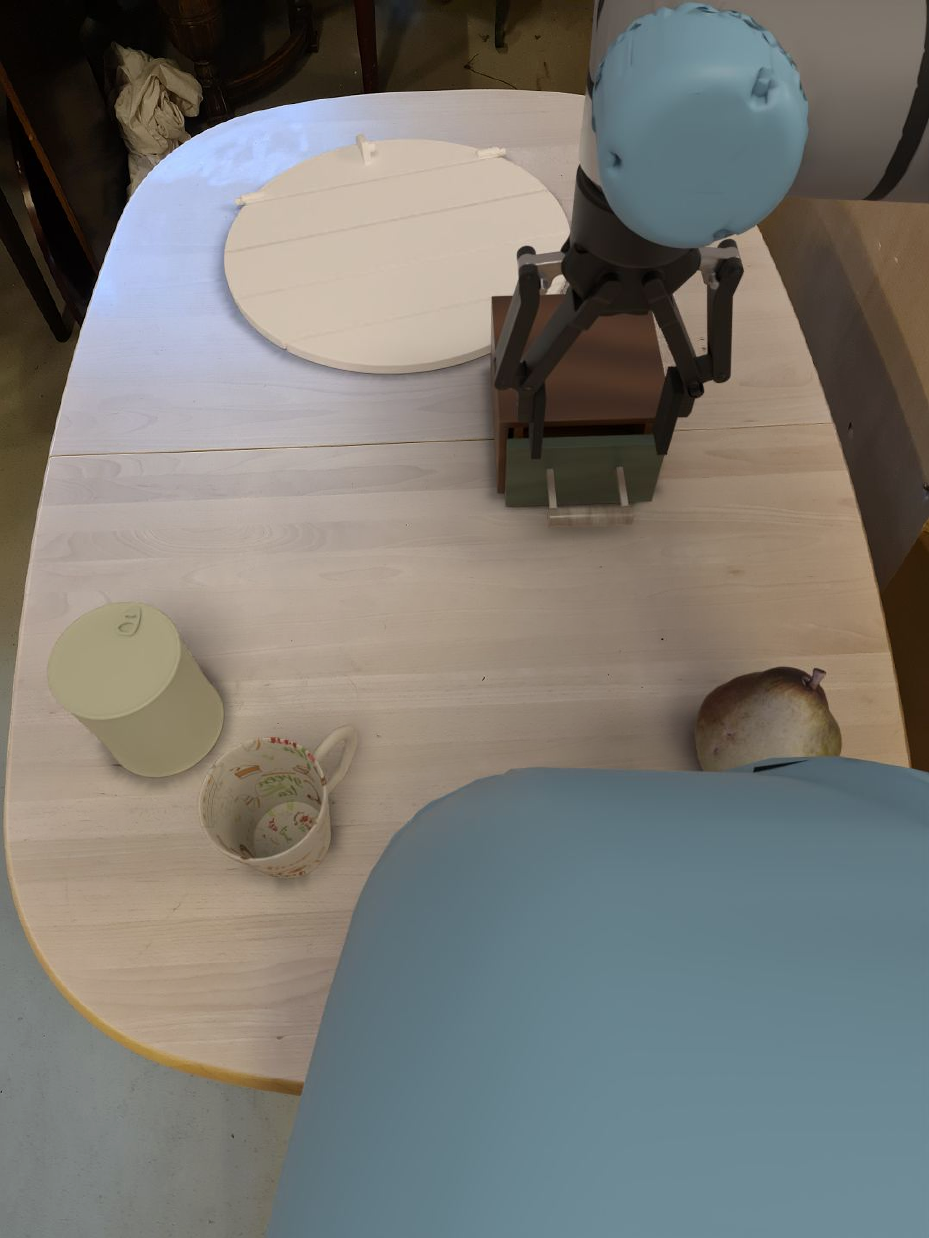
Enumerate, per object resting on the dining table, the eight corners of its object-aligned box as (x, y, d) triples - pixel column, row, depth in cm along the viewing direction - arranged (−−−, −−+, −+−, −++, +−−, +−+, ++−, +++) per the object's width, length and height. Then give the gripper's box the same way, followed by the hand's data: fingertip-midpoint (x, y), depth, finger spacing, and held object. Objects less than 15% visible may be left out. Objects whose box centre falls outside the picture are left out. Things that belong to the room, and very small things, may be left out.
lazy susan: (204, 177, 105) (196, 150, 102) (508, 121, 110) (509, 93, 107) (256, 409, 86) (248, 384, 83) (622, 329, 91) (627, 302, 88)
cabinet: (653, 488, 80) (673, 416, 72) (497, 493, 80) (499, 422, 72) (632, 368, 88) (648, 291, 79) (490, 373, 88) (491, 295, 79)
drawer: (660, 554, 75) (678, 499, 68) (508, 559, 75) (511, 505, 68) (632, 385, 85) (645, 323, 79) (497, 390, 85) (499, 328, 79)
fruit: (824, 731, 68) (887, 663, 57) (806, 843, 63) (870, 791, 53) (696, 692, 70) (734, 618, 59) (670, 798, 65) (706, 739, 55)
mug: (212, 852, 64) (170, 812, 55) (319, 723, 69) (296, 668, 60) (297, 919, 61) (267, 887, 53) (402, 780, 66) (391, 730, 58)
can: (238, 680, 71) (197, 607, 60) (202, 786, 66) (151, 726, 56) (133, 664, 72) (74, 588, 61) (90, 767, 67) (19, 705, 57)
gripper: (827, 122, 49) (728, 403, 68) (446, 134, 49) (456, 412, 68) (861, 204, 45) (745, 477, 65) (449, 217, 45) (458, 486, 65)
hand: (597, 443), depth 67 cm, fingers open, 9 cm apart
